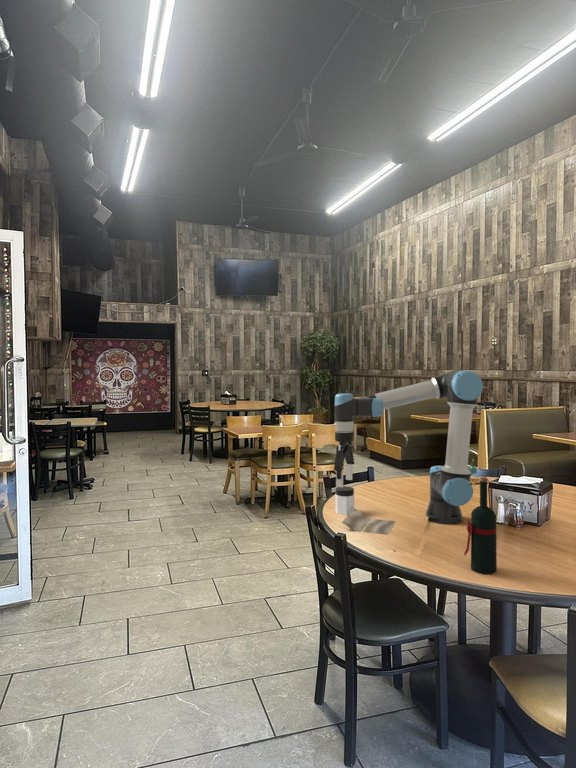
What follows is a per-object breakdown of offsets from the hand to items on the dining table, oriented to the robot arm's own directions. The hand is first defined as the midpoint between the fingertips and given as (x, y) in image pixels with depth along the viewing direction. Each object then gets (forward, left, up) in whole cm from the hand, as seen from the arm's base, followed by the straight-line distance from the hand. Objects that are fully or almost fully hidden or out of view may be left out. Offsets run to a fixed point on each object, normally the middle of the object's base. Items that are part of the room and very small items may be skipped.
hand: (344, 483), depth 199 cm
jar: (+5, -19, -19) cm, 28 cm away
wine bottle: (-52, +24, -19) cm, 60 cm away
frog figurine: (-48, -104, -19) cm, 116 cm away
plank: (-4, -4, -17) cm, 18 cm away
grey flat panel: (-8, -4, -19) cm, 21 cm away
